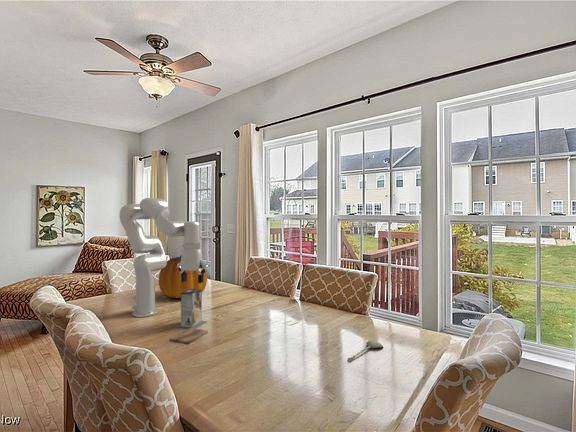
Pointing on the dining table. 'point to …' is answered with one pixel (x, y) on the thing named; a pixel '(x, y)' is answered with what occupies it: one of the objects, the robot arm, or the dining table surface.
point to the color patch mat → (194, 326)
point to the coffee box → (191, 307)
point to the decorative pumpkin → (178, 279)
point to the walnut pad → (188, 335)
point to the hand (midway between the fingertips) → (192, 282)
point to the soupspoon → (370, 345)
